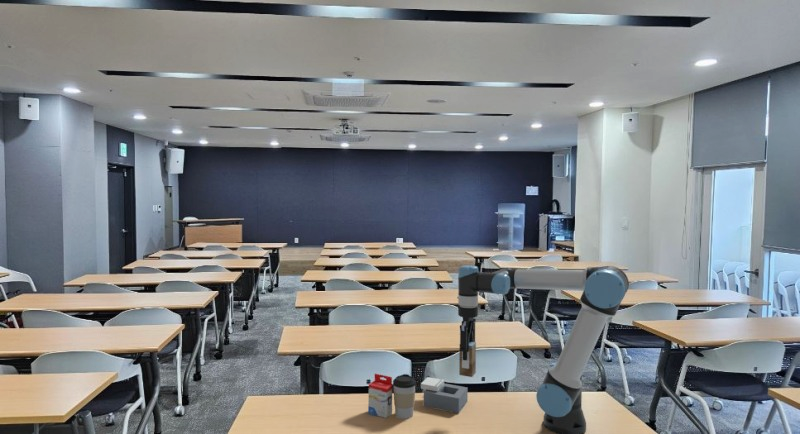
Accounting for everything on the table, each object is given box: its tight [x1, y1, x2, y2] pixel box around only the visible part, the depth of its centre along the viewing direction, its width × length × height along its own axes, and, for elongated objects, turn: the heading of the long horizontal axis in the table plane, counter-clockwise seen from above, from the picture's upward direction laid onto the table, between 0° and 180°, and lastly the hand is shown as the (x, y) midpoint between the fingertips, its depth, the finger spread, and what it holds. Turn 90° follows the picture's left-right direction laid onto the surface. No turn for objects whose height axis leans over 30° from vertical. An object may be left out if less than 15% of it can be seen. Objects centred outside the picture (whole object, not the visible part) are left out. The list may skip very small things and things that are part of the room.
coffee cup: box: [392, 373, 417, 420], centre depth 181 cm, size 9×9×15 cm
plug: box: [458, 341, 477, 378], centre depth 178 cm, size 5×5×12 cm
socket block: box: [423, 382, 469, 414], centre depth 191 cm, size 15×12×6 cm
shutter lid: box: [420, 376, 445, 392], centre depth 193 cm, size 7×8×2 cm
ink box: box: [367, 373, 393, 419], centre depth 182 cm, size 8×5×15 cm, turn 62°
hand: (467, 365), depth 178 cm, fingers closed on plug, 5 cm apart
